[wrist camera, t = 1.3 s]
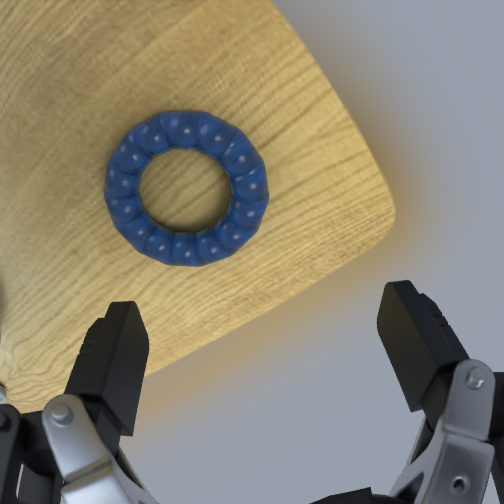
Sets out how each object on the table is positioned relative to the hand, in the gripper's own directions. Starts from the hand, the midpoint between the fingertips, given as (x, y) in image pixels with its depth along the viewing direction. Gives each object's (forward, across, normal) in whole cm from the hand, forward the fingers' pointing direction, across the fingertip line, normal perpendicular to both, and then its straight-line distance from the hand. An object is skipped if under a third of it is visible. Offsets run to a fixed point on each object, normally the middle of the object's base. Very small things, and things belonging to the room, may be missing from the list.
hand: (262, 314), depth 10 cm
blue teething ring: (+11, +4, 0) cm, 11 cm away
